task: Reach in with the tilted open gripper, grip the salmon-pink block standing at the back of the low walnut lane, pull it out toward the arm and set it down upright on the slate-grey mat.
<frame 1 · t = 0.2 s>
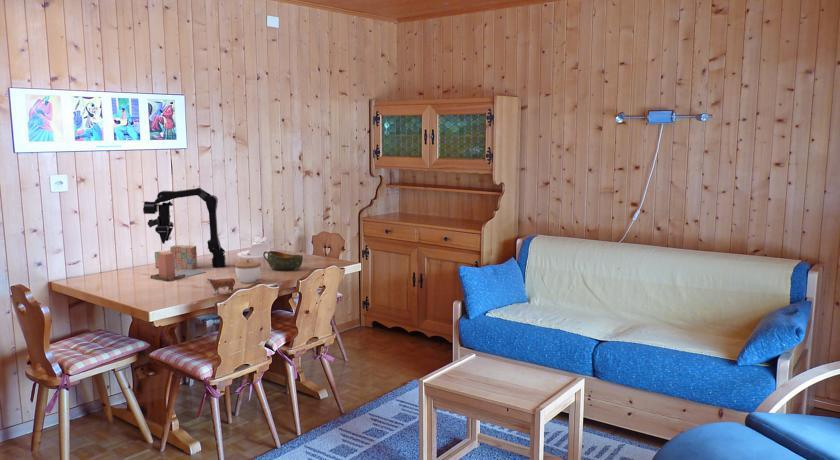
hand: (165, 242, 366), 14 cm above the table, tool pointing down, fingers open, 9 cm apart
salmon-pink block: (166, 265, 342), in the walnut lane
slate-grey mat: (189, 273, 355), on the table
stack of blocks: (176, 268, 369), on the table
dish: (258, 255, 409), on the table
cup: (283, 270, 365), on the table
lidded bowl: (248, 281, 336), on the table
bull figurine: (220, 294, 310), on the table
walnut lane: (167, 278, 343), on the table
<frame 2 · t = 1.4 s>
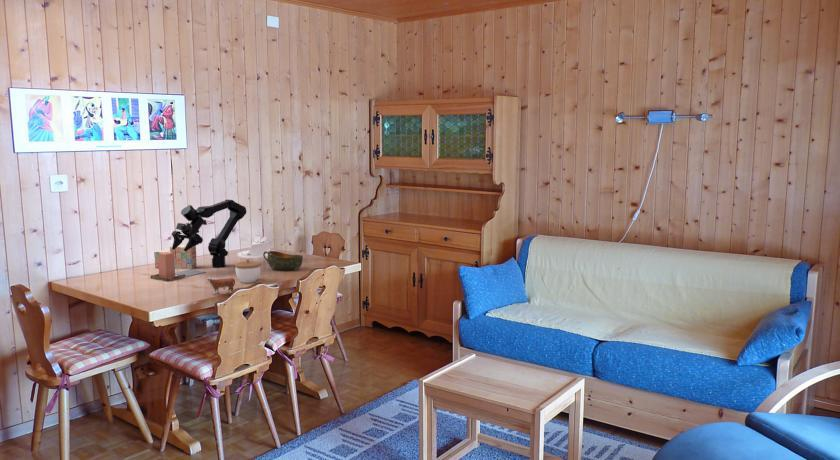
hand: (178, 250, 348), 13 cm above the table, tool tilted 45°, fingers open, 9 cm apart
nothing on the table moved.
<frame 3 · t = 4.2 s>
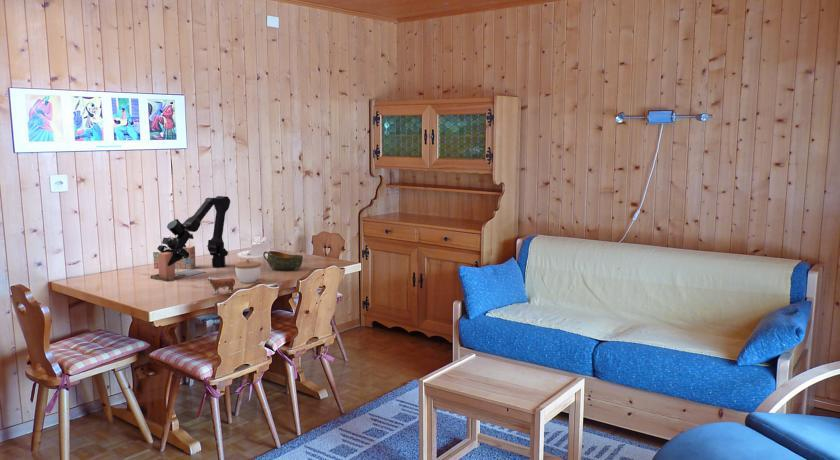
hand: (164, 265, 341), 7 cm above the table, tool tilted 45°, fingers closed on salmon-pink block, 5 cm apart
salmon-pink block: (166, 265, 342), in the walnut lane, touching gripper
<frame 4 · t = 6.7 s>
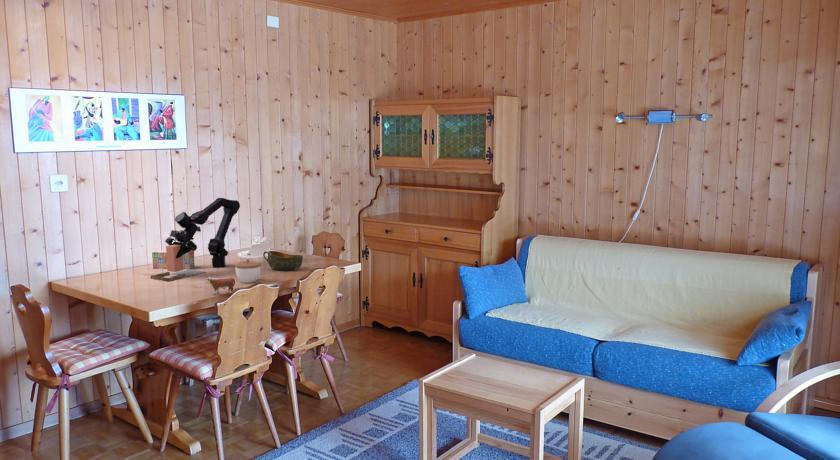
hand: (172, 257, 345), 10 cm above the table, tool tilted 45°, fingers closed on salmon-pink block, 5 cm apart
salmon-pink block: (174, 258, 346), point 10 cm above the table, touching gripper
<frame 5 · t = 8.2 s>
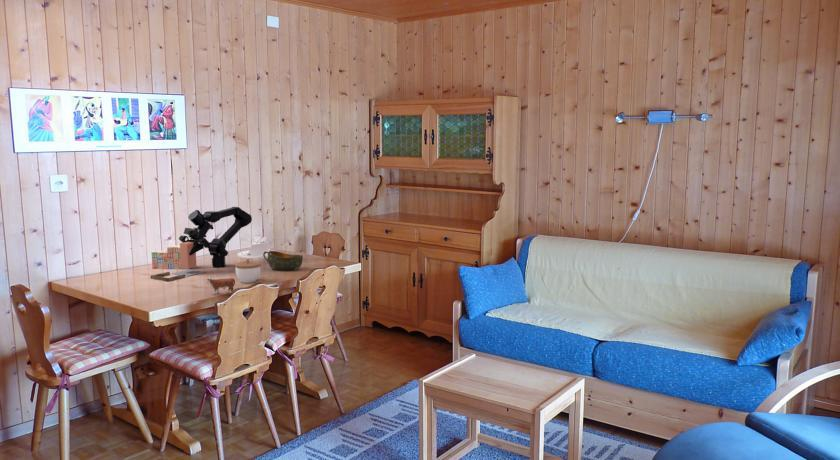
hand: (186, 254, 352), 10 cm above the table, tool tilted 45°, fingers closed on salmon-pink block, 5 cm apart
salmon-pink block: (188, 255, 353), point 10 cm above the table, touching gripper
when the fingers open (8 cm above the table, at t = 9.4 s): salmon-pink block stays where it is, resting on slate-grey mat.
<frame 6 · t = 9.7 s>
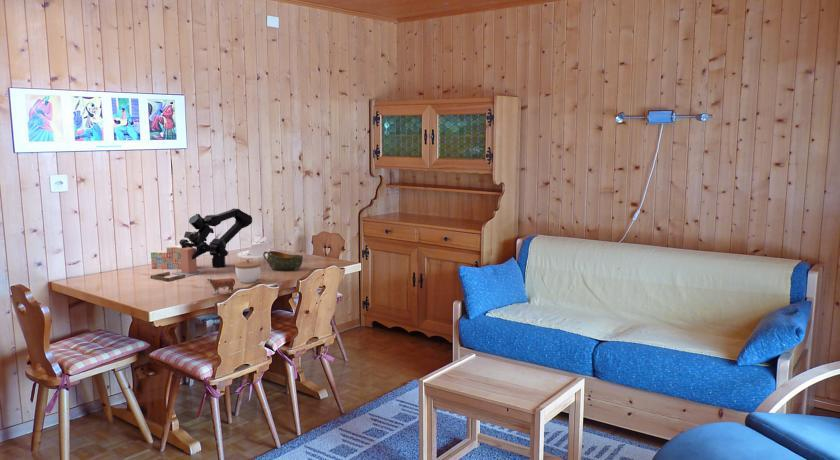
hand: (186, 258, 352), 8 cm above the table, tool tilted 45°, fingers open, 9 cm apart
salmon-pink block: (188, 260, 354), on the slate-grey mat
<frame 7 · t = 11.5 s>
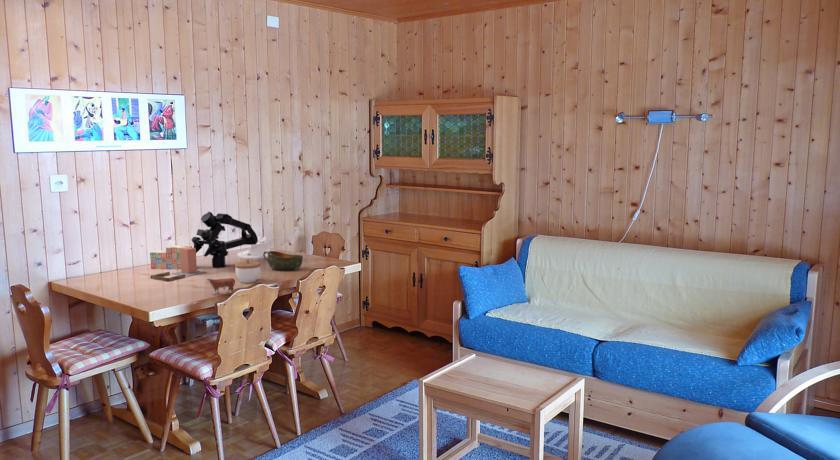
hand: (198, 255, 359), 9 cm above the table, tool tilted 45°, fingers open, 9 cm apart
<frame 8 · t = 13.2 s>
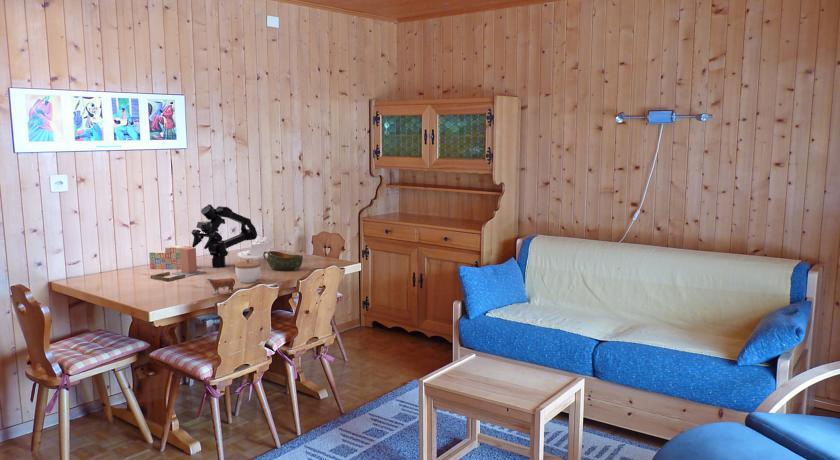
hand: (198, 247, 359), 13 cm above the table, tool tilted 45°, fingers open, 9 cm apart
at the end: salmon-pink block inside the target area on the slate-grey mat (0.0 cm from its centre), point 6.9 cm above the slate-grey mat's base; salmon-pink block tilted 0°; the gripper is holding nothing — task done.
